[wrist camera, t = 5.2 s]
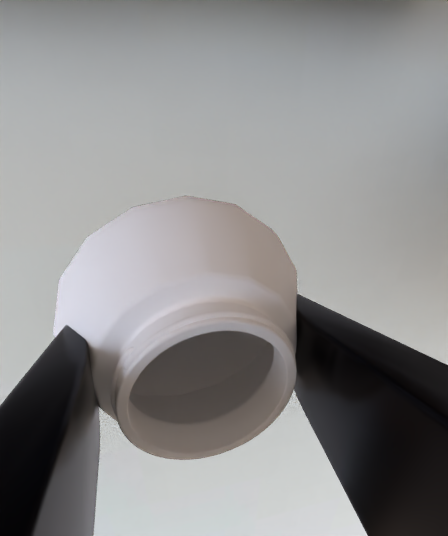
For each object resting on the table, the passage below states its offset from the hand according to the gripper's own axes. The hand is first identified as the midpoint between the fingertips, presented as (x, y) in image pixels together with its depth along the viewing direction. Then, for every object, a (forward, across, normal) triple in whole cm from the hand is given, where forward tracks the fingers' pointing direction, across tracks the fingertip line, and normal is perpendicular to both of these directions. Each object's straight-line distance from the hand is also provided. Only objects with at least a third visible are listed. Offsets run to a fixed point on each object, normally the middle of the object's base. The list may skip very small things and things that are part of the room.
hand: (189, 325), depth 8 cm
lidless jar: (+1, 0, 0) cm, 1 cm away
